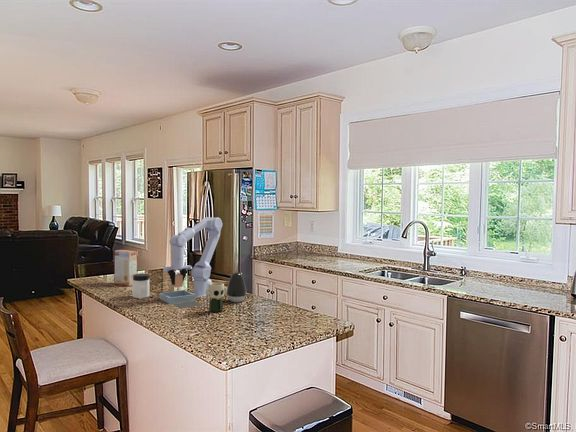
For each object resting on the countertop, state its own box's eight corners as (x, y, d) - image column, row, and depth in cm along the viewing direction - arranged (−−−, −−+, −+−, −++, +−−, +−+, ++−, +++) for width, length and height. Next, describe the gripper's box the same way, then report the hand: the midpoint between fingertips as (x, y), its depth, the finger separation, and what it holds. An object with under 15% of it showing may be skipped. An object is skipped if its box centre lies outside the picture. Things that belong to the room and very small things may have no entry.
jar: (134, 299, 224) (134, 276, 223) (130, 296, 231) (130, 274, 230) (151, 297, 229) (151, 275, 228) (147, 294, 236) (147, 272, 235)
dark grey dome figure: (249, 300, 226) (250, 271, 226) (239, 304, 217) (240, 274, 216) (233, 298, 231) (233, 270, 230) (222, 302, 221) (223, 272, 221)
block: (179, 285, 226) (179, 274, 225) (182, 286, 222) (182, 275, 222) (172, 286, 223) (172, 274, 223) (175, 287, 220) (175, 275, 220)
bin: (184, 296, 233) (184, 289, 233) (195, 301, 222) (195, 294, 222) (159, 299, 225) (159, 292, 224) (169, 305, 213) (169, 298, 213)
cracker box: (137, 285, 261) (137, 250, 260) (128, 286, 256) (128, 251, 255) (122, 282, 268) (122, 249, 267) (114, 283, 263) (114, 250, 262)
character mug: (209, 314, 197) (209, 286, 197) (202, 311, 203) (202, 283, 203) (230, 311, 204) (230, 284, 203) (222, 307, 210) (223, 281, 209)
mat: (194, 302, 220) (194, 301, 220) (203, 306, 212) (203, 305, 212) (172, 305, 213) (172, 304, 213) (180, 309, 205) (180, 308, 205)
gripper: (187, 256, 230) (187, 281, 230) (161, 258, 221) (161, 284, 222) (193, 257, 224) (193, 283, 225) (166, 259, 215) (166, 286, 216)
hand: (177, 284), depth 223 cm, fingers closed on block, 4 cm apart
